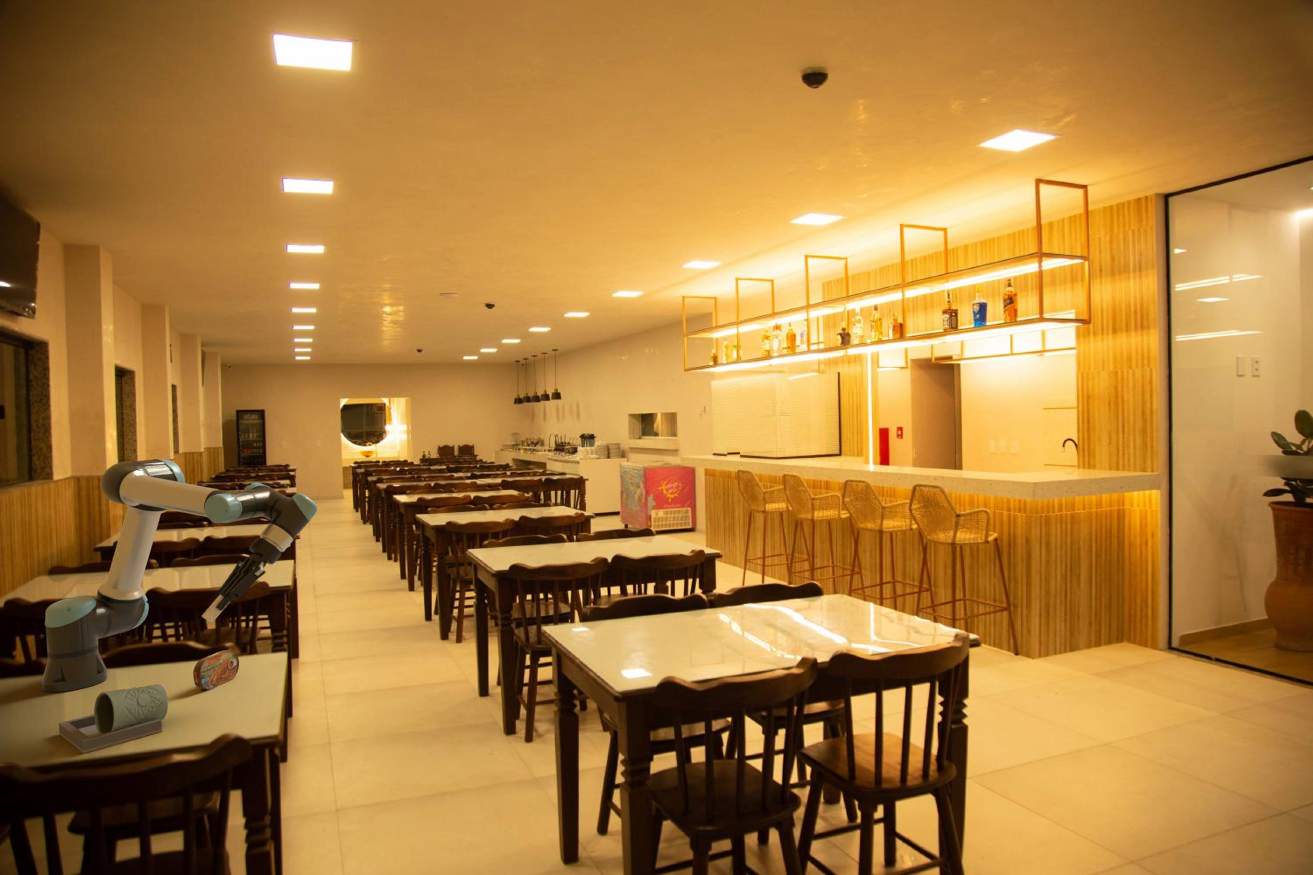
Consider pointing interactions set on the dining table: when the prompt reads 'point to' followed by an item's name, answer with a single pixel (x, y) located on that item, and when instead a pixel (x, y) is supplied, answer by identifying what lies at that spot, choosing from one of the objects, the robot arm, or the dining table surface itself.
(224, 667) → the tin
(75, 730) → the shallow rectangular tray
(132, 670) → the dining table surface
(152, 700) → the green embossed cup
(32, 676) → the dining table surface
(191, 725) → the dining table surface
